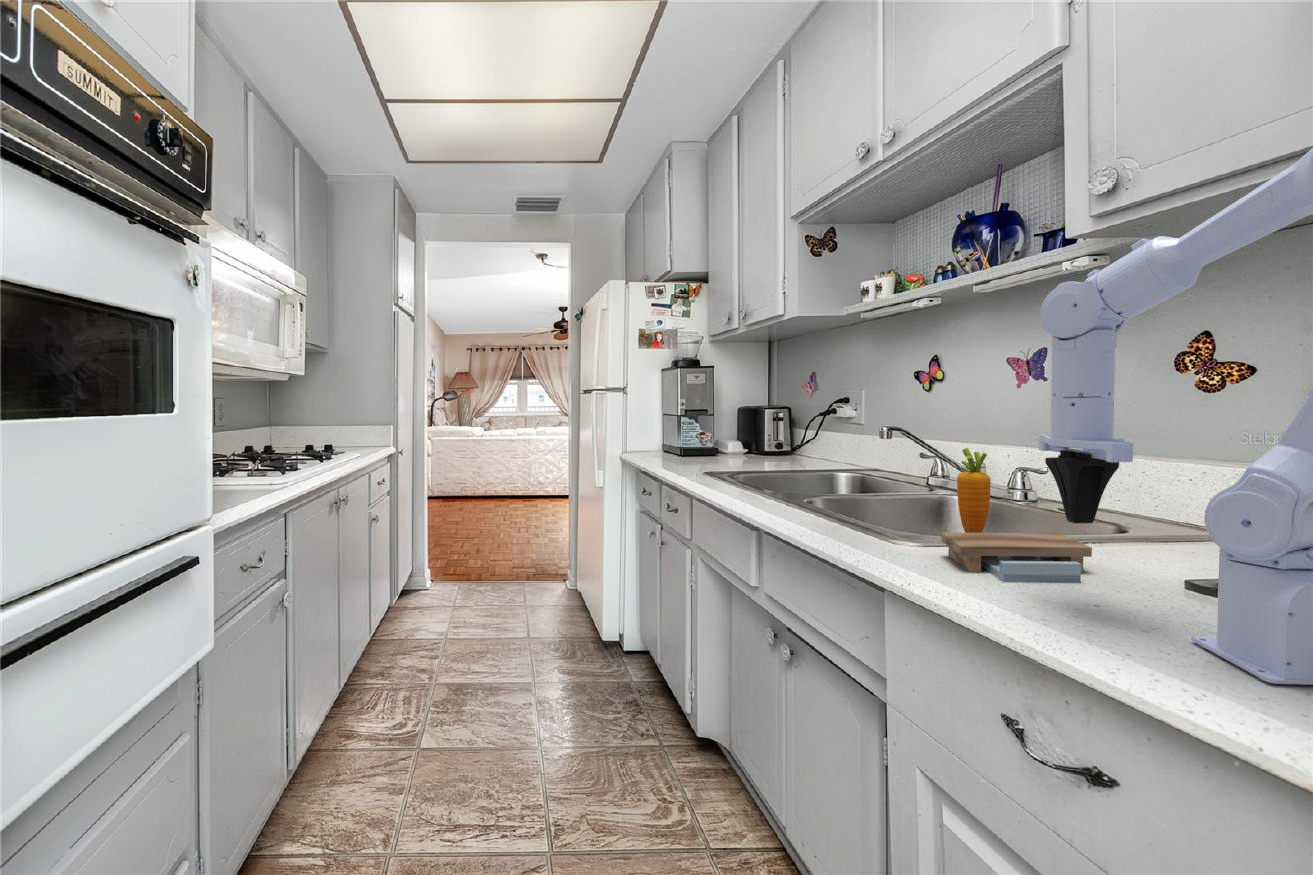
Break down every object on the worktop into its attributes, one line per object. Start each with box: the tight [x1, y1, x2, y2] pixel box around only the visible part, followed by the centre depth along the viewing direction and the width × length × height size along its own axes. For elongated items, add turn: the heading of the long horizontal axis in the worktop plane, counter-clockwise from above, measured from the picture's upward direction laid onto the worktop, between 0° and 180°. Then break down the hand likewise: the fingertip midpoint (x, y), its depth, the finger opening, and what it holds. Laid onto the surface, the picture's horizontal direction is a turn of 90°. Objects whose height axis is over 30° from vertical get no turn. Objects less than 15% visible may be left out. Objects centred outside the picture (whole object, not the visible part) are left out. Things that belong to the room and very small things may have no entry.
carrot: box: [956, 447, 991, 533], centre depth 103 cm, size 5×5×15 cm
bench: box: [940, 532, 1093, 574], centre depth 90 cm, size 9×16×3 cm, turn 82°
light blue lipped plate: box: [981, 556, 1082, 584], centre depth 87 cm, size 11×9×3 cm
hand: (1080, 522), depth 72 cm, fingers closed
